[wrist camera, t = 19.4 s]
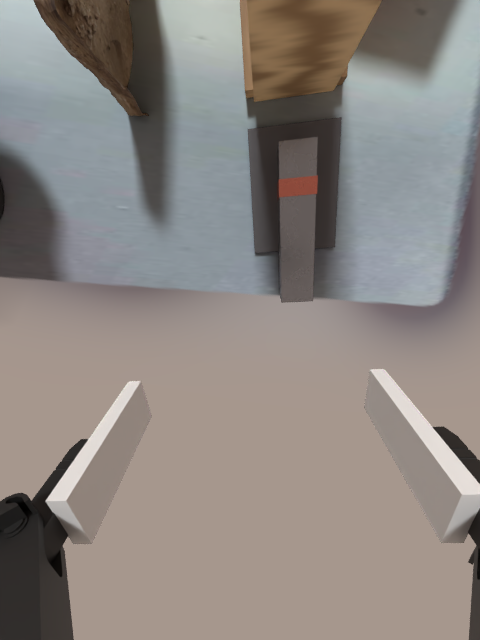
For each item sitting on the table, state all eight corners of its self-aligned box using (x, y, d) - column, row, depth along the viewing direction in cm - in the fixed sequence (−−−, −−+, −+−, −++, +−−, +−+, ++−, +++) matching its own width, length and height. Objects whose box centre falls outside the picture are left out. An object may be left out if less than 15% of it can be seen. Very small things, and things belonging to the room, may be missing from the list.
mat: (255, 252, 39) (254, 252, 39) (248, 130, 34) (247, 129, 33) (333, 246, 38) (334, 247, 38) (340, 118, 32) (341, 117, 32)
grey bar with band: (308, 292, 41) (313, 301, 36) (279, 294, 41) (281, 302, 37) (311, 147, 33) (318, 136, 29) (276, 151, 34) (277, 140, 30)
